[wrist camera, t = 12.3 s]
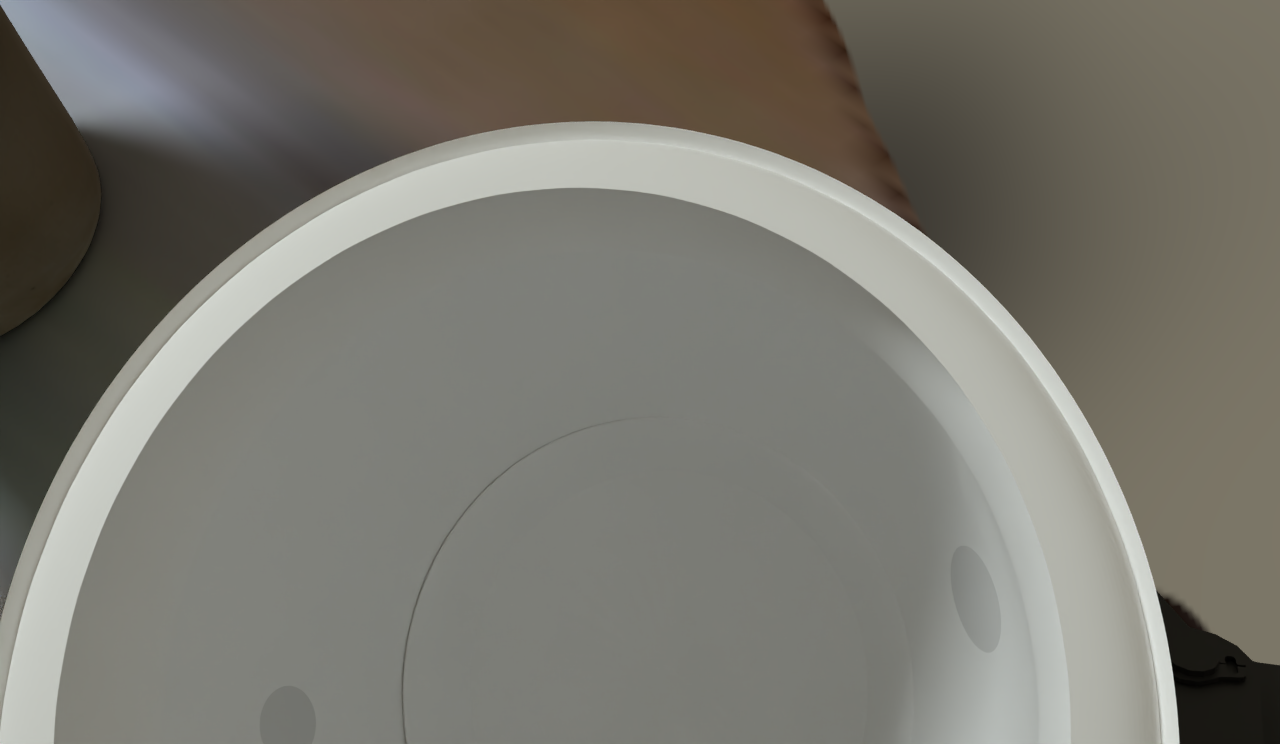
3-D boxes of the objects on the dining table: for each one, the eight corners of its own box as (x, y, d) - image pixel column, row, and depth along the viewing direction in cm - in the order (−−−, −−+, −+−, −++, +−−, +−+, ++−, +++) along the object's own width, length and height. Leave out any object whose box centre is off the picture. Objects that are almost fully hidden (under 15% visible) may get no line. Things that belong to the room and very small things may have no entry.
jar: (459, 493, 24) (34, 202, 10) (842, 435, 23) (986, 30, 9) (482, 951, 20) (-163, 1570, 6) (942, 898, 19) (1465, 1455, 5)
